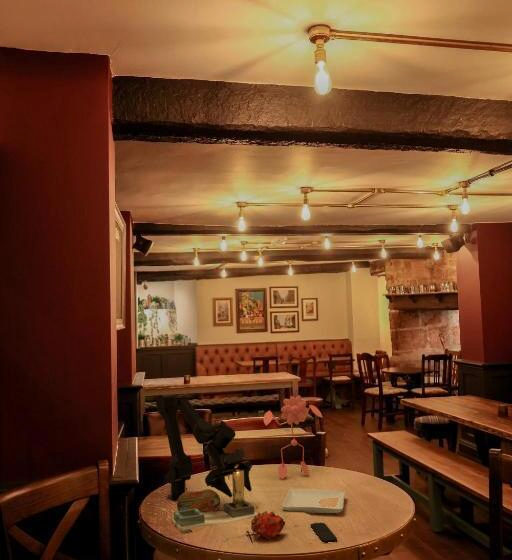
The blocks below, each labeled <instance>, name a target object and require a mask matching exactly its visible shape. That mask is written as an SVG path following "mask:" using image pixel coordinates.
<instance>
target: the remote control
mask: <svg viewBox="0 0 512 560" xmlns="http://www.w3.org/2000/svg"><path fill="white" fill-rule="evenodd" d="M311 528H312V529H313V530H312V529H311ZM310 529H311V530H312V531H314V532H315V533H316V534H315V533H314V532H313V533H314V534H315V536H316V535H317V536H318V537H319V538H318V537H317V536H316V537H317V538H318V540H319V539H320V540H321V541H322V542H325V543H324V544H329V543H328V542H336V543H338V537H337V536H336V535H335V534H334V533H333V531H332V530H331V529H330V527H329V526H328V525H327V524H326V523H324V522H315V523H310ZM320 540H319V541H320ZM321 541H320V542H321ZM322 542H321V543H322Z"/></svg>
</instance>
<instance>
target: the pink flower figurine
mask: <svg viewBox="0 0 512 560" xmlns="http://www.w3.org/2000/svg"><path fill="white" fill-rule="evenodd" d="M283 404H284V406H282V407H281V409H280V410H281V412H282V413H281V416H280V417H281V419H282V420H285V419H286V421H285V422H281V423H280V422H279V421H278V420H277V418H276V417H275V416H274V415H273V413H272V411H271V410H268V411H266V412H265V413H264V415H263V423H264V425H265V426H266V427H267V426H268V425H270V423H271V422H272V420H275V422H276V423H277V424H278V425H279V426H282V425H285V424H288V425H291V426H290V427H291V428H290V429H291V433H292V437H293V439H291V441H290V443H289V444H287V445H286V446H284V447H282V448H281V449H280V453H281V463H280V464H279V466H278V468H277V470H278V475H279V477H280V479H281V480H283V479H284V478H286V476H287V474H288V473H287V472H288V467H287V465H286V464H285V463H284V459H283V458H284V457H283V449H286V448H287V447H289V446H293V447H296V446H297V445H298V446H300V447H302V461H300V467H301V468H300V473H302V474H303V473H304V474H305V475H306V476H307V475H309V476H310V469H309V467H308V465H307V464H306V462H305V461H304V460H305V459H304V458H305V454H304V453H305V452H304V451H305V448H304V447H305V446H303V445H301V444H299V443H298V441H297V440H296V438H295V434H294V429H293V424H295V425H299V424H300V422H303V423H304V422H305V421H306V419H307V416H308V413H309V411H310V410H311V412H312V413H313V414H314V415H316V416H317V417H319V418H321V419H323V415H322V412H321V411H320V410H319V408H318V407H317V406H315V405H314V404H309V406H308V407H306V406H307V401H306V400H302V397H301V395H297V396H296V397H295V396H292V395H291V396H290V397H289V398H285V399H283Z"/></svg>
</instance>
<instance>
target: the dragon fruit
mask: <svg viewBox="0 0 512 560" xmlns="http://www.w3.org/2000/svg"><path fill="white" fill-rule="evenodd" d="M257 514H258V516H255V517H254V518H251V519H252V520H251V521H250V522H251V526H250V528H251V531H252V532H253V533H252V534H253V536H254V537H258V536H259V539H261V540H263V539H264V538H265V539H266V540H269V541H271V540H272V538H279V537H280V536H281V534H280V533H281V532H282V531H283V529H284V527H285V526H286V521H285V519H284V518H282V516H280V515H276V514H275V512H274V511H270V512H269V513H268V511H267V510H265V511H264V512H262V513H261V512H257Z"/></svg>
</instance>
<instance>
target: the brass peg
mask: <svg viewBox="0 0 512 560" xmlns="http://www.w3.org/2000/svg"><path fill="white" fill-rule="evenodd" d="M231 477H232V495H233V496H232V502H233V508H234V509H235V508H241V507H245V501H246V500H245V486H244V470H233V471H232V475H231ZM244 500H245V501H244Z"/></svg>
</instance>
